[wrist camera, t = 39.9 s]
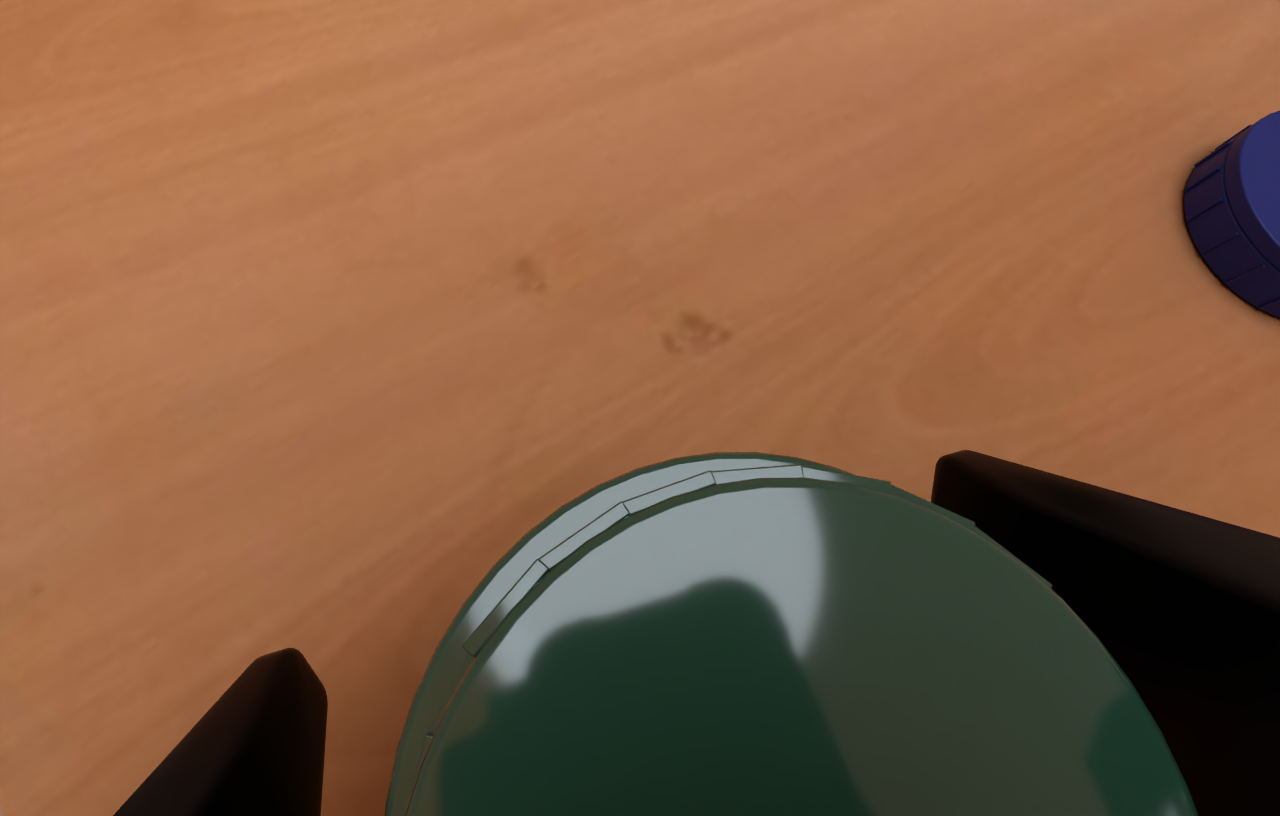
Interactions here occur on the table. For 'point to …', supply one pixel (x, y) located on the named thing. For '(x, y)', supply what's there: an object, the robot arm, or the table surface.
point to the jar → (772, 665)
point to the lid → (1241, 212)
